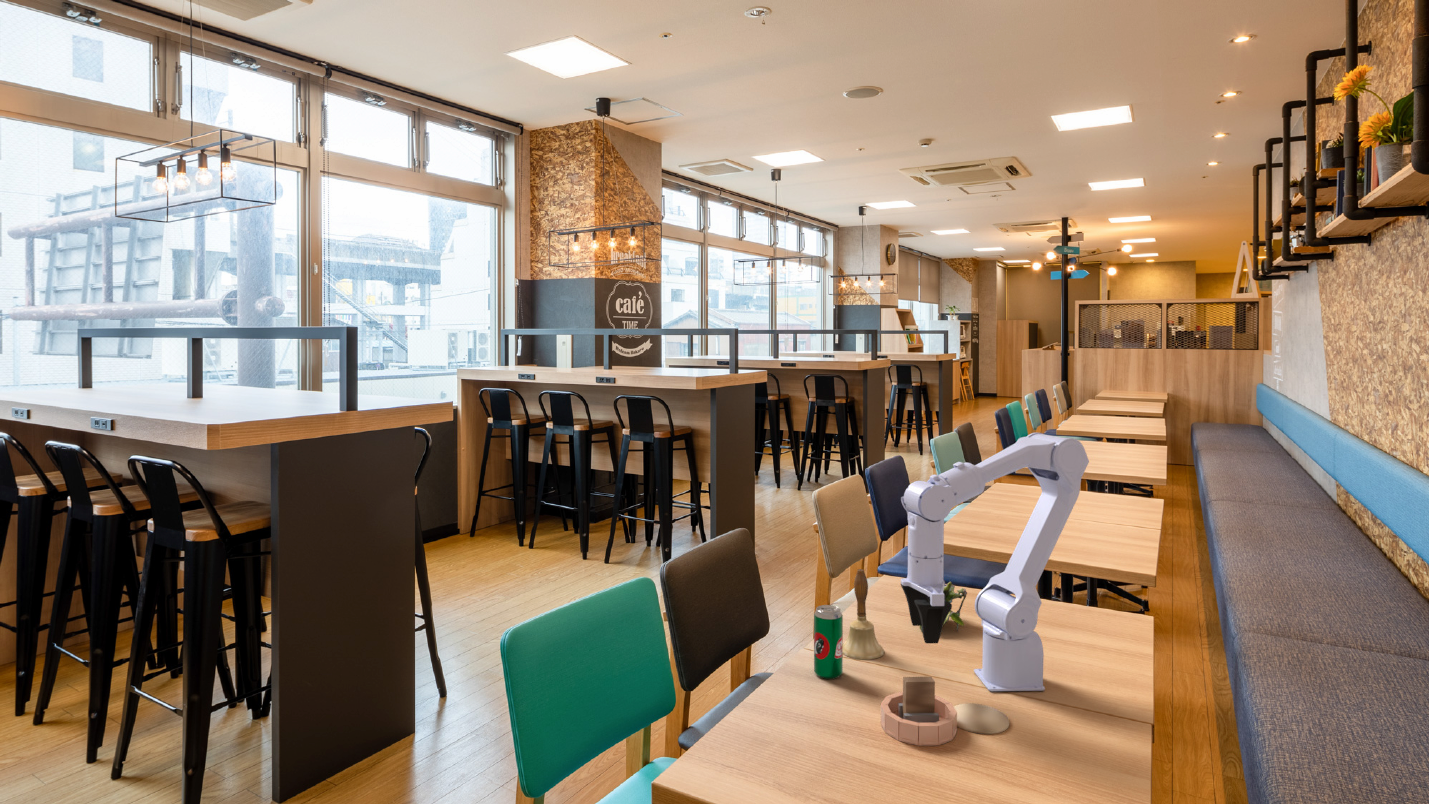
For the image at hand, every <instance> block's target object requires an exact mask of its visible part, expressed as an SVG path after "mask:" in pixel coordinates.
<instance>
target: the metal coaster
mask: <svg viewBox="0 0 1429 804" xmlns="http://www.w3.org/2000/svg"><path fill="white" fill-rule="evenodd" d="M953 707H954V708H955V710H956V711H957V728H959V729H962V730H964V731H967V732H970V733H974V734H981V735H994V734H1000V733H1003V732H1005V731H1006V730H1007V729H1009V726H1010V719H1009V717H1008V716H1007V715H1006V714H1005V713H1004V712H1002V711H1001V710H999V709H998V708H996V707H993V706H989V705H986V704H982V703H981V704H979V703H973V702H971V703H970V702H969V703H968V702H967V703H959V704H957V705H953Z"/></svg>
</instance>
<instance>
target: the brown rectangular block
mask: <svg viewBox="0 0 1429 804" xmlns="http://www.w3.org/2000/svg"><path fill="white" fill-rule="evenodd" d="M935 687H936V682H935V680H934V678H933V677H932V676H903V677H902V692H903V718H904V713H935V695H936V694H935V693H936V688H935Z"/></svg>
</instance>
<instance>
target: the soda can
mask: <svg viewBox="0 0 1429 804" xmlns="http://www.w3.org/2000/svg"><path fill="white" fill-rule="evenodd" d="M841 611H842V610H841V608H840V607H838V606H836V605H832V604H822V605H818V606H817V607H816V609H815V612H814V613H813V671H814V673H815V675H817V677H819V678H821V679H825V680H834V679H837V678H839V677H841V675H842V674H843V666H844V665H843V662H844V660H843V656H844V655H843V643H844V641H843V640H844V639H843V636H844V635H843V632H844V630H843V628H844V627H843V623H844V622H843V621H844V617H843V616H844V615H843V613H842V612H841Z"/></svg>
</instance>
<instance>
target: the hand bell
mask: <svg viewBox="0 0 1429 804" xmlns="http://www.w3.org/2000/svg"><path fill="white" fill-rule="evenodd" d="M853 584H854V585H853V586H854V587H853V589H854V595H855V598H856V603H857V604H856V609H857V610H856V611H857V612H856V615H857V619H855V620H853V621H851V622H850V624H849V629H848V630H849V631H848V635H847V637H846V640H845V642H844V641H843V656H845V657H848V658H850V659H854V660H862V661H863V660H865V661H867V660H868V661H869V660H876V659H878V658H880V657H882V656H884V653H885V650H884V647H883V646H882V645H881V644H880V643H879V641H878V639H877V637H876V634H875V633H876V632H875V627H874V623H872V621H869V620H867V611H866V610H867V609H866V601H867V597H868V593H869V591H868V590H869V583H868V579H867V577H866V573H865V570H864V569H862V568H859V569H857V570H856V575H855V577H854V583H853Z"/></svg>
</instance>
